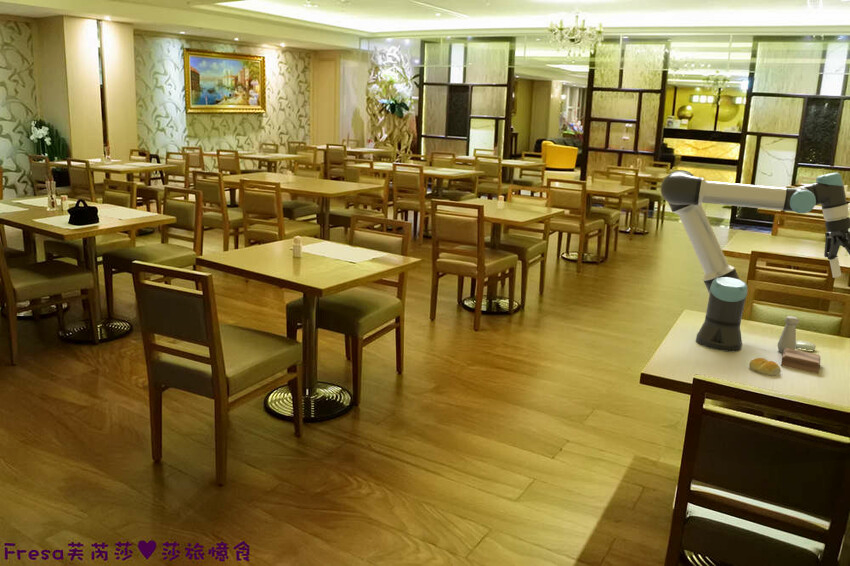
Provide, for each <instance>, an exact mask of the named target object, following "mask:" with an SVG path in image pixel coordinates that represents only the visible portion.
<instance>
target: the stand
mask: <svg viewBox="0 0 850 566" xmlns="http://www.w3.org/2000/svg"><path fill="white" fill-rule="evenodd" d="M780 366H781V367H785V368H790V369H795V370H800V371H804V372H809V373H813V374H819V372H820V368H821V355H820V354H817V353H813V352H809V351H803V350H799V349H795V350H794V349H789V348H786V349H784V353H782V359H781V363H780Z"/></svg>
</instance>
